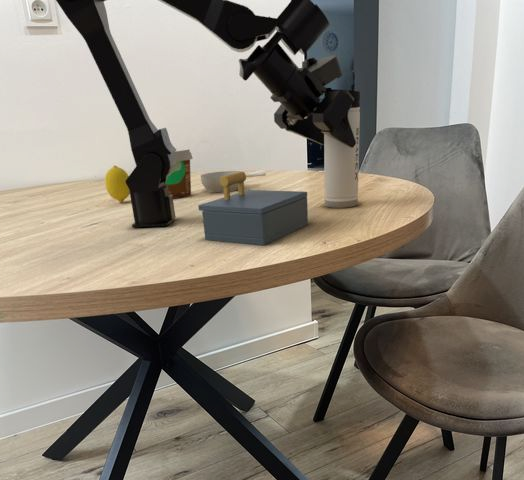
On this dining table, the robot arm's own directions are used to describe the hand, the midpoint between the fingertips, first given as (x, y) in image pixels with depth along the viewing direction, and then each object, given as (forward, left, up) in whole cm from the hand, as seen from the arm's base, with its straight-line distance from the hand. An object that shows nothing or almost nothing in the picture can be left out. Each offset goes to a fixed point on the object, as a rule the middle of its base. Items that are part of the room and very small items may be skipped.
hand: (339, 144), depth 92 cm
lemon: (-49, +16, -11) cm, 52 cm away
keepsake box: (-14, -19, -11) cm, 26 cm away
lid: (-14, -19, -6) cm, 24 cm away
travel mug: (0, 0, -11) cm, 11 cm away
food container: (-39, +19, -11) cm, 45 cm away
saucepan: (-24, +26, -11) cm, 37 cm away
